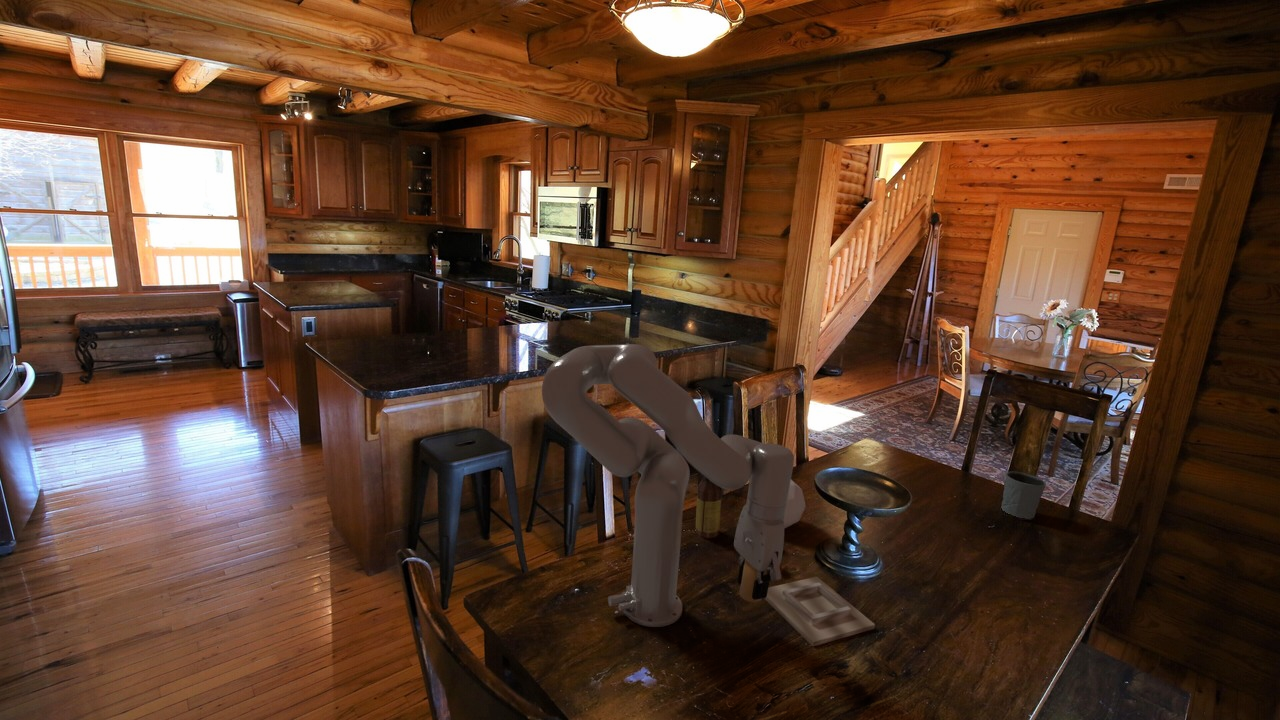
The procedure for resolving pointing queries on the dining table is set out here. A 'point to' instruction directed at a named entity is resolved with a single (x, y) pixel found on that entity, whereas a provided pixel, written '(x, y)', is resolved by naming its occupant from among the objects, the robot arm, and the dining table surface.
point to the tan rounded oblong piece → (748, 582)
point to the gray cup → (1022, 494)
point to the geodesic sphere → (794, 505)
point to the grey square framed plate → (817, 611)
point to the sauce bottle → (708, 509)
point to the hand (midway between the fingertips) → (751, 589)
